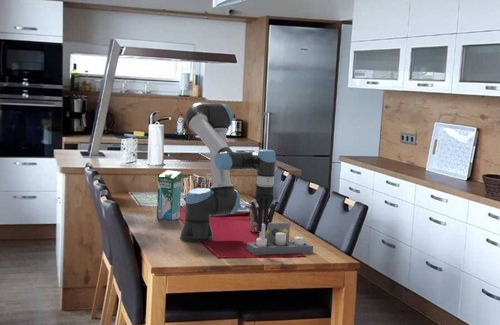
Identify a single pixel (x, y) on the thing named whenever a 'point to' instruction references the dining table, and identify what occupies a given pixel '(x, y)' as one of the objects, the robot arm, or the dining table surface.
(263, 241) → the button left
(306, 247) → the button board
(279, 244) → the button middle
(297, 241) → the button right
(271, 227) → the card
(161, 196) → the milk carton
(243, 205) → the maze game
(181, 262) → the dining table surface
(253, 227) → the mug
